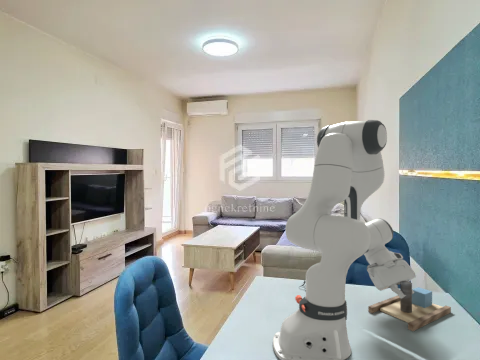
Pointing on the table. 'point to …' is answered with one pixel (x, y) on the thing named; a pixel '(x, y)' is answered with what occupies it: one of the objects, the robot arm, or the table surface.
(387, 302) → the track
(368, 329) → the table surface
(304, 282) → the creature
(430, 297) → the cube
